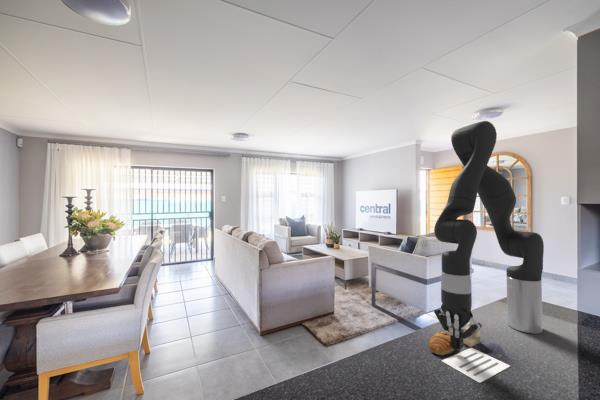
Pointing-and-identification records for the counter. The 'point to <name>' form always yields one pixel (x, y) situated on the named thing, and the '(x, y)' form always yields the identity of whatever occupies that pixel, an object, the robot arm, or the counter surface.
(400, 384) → the counter surface
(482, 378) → the letter
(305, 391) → the counter surface
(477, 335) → the maple cube
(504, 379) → the counter surface
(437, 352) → the pastry
